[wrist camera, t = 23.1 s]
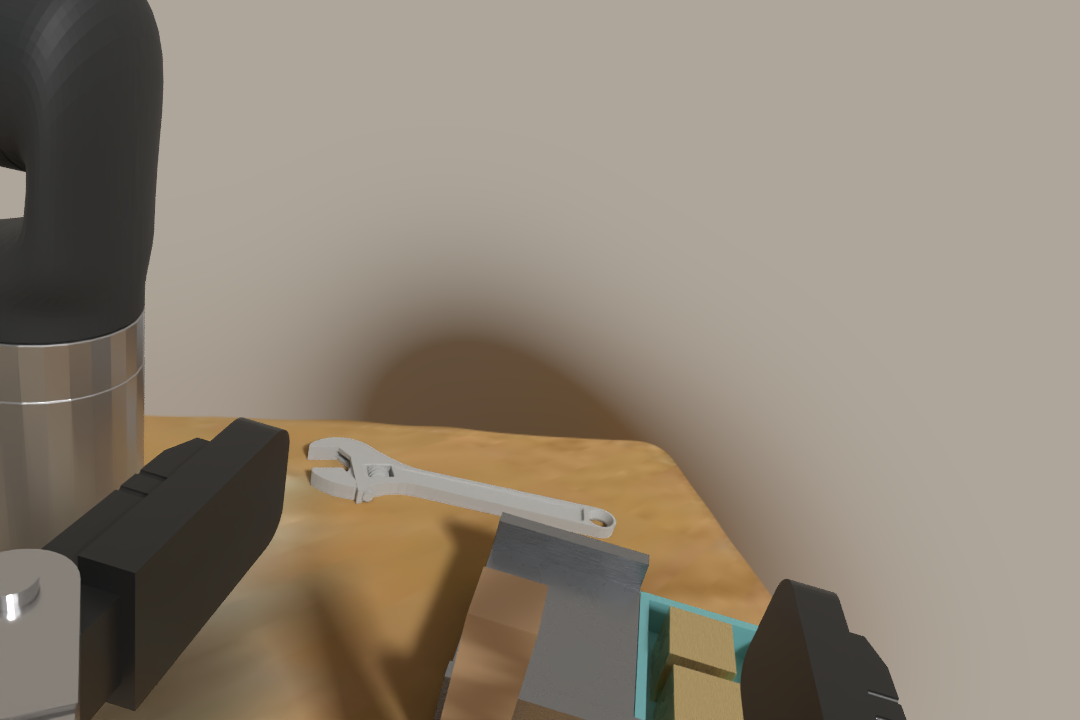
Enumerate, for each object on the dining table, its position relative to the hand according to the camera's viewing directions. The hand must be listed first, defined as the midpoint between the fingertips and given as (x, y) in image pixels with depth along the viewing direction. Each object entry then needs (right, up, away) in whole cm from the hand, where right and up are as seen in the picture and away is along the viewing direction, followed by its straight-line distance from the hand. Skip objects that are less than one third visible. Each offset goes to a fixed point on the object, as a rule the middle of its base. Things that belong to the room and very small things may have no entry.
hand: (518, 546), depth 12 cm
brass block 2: (+7, -17, +29) cm, 35 cm away
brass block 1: (+8, -15, +34) cm, 38 cm away
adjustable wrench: (-6, -9, +47) cm, 48 cm away
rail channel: (0, -16, +33) cm, 37 cm away
